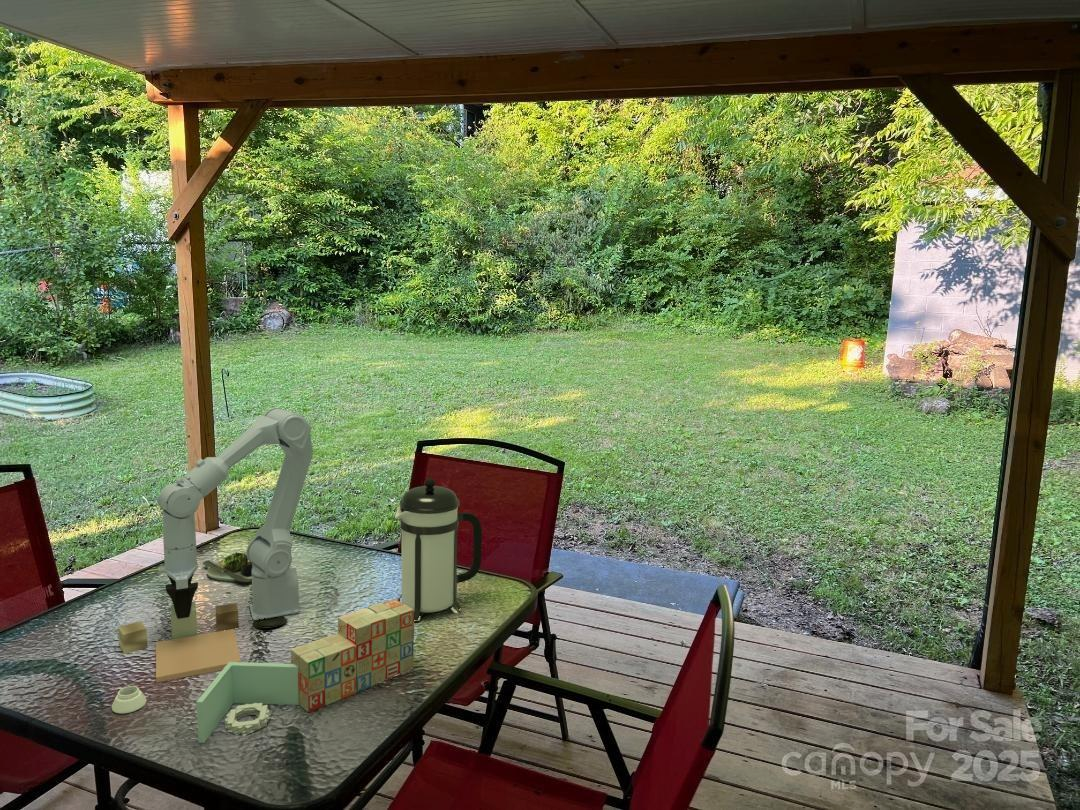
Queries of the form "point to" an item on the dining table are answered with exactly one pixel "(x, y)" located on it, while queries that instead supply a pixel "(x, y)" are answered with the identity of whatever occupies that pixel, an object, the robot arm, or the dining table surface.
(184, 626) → the sage block
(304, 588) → the dining table surface
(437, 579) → the coffee press
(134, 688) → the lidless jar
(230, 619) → the walnut block
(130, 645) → the pale oak block
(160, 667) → the tan flat square slab
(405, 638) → the stack of blocks
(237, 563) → the salad plate
